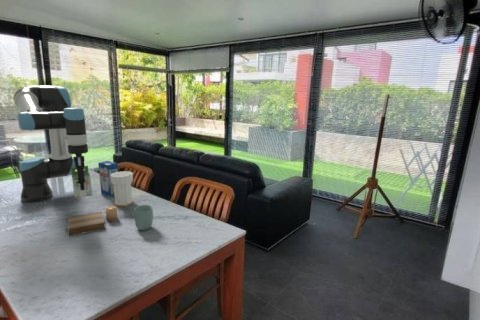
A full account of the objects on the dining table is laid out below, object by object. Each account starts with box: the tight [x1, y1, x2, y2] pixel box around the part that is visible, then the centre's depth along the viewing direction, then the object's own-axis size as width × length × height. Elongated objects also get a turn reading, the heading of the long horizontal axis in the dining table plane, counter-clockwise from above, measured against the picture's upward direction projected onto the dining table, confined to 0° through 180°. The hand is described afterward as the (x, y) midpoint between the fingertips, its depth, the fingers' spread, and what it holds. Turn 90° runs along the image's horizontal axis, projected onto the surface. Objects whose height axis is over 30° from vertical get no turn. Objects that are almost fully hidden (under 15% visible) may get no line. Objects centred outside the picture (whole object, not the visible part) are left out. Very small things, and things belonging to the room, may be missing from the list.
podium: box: [67, 210, 106, 236], centre depth 126 cm, size 14×14×3 cm
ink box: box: [71, 165, 93, 199], centre depth 121 cm, size 7×4×13 cm, turn 125°
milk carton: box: [97, 160, 119, 198], centre depth 164 cm, size 10×6×20 cm, turn 58°
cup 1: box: [110, 170, 134, 207], centre depth 151 cm, size 11×11×17 cm
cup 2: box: [133, 204, 154, 231], centre depth 124 cm, size 8×8×10 cm
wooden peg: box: [105, 205, 119, 222], centre depth 133 cm, size 5×5×6 cm
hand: (83, 194), depth 123 cm, fingers closed on ink box, 4 cm apart
